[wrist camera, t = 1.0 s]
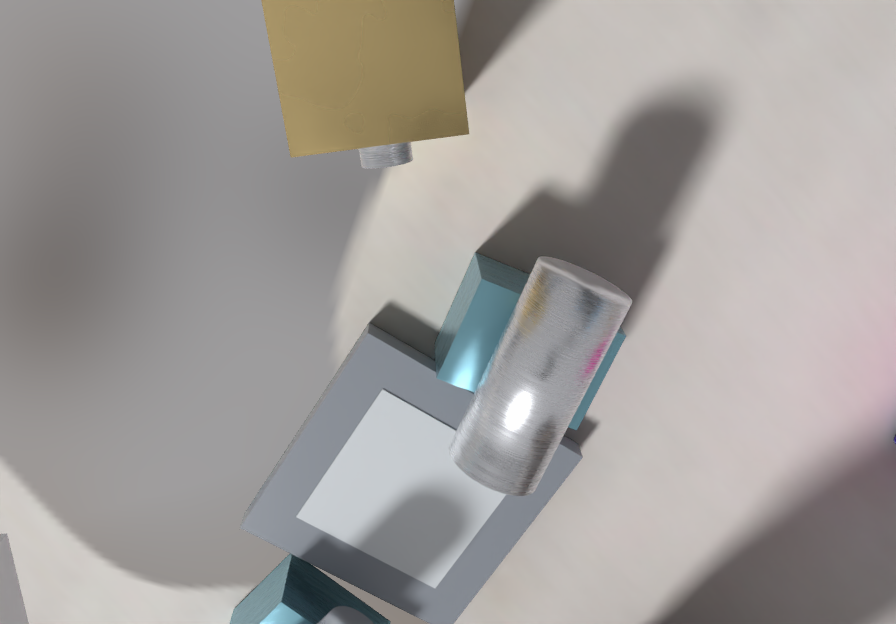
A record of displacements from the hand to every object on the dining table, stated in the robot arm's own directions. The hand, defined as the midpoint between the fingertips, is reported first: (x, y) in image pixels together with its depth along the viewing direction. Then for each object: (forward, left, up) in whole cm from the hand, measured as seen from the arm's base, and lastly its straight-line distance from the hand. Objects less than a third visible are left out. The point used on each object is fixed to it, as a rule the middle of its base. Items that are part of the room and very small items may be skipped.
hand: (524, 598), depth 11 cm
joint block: (-4, -5, -19) cm, 20 cm away
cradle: (+9, +4, -19) cm, 21 cm away
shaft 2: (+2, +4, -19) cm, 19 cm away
